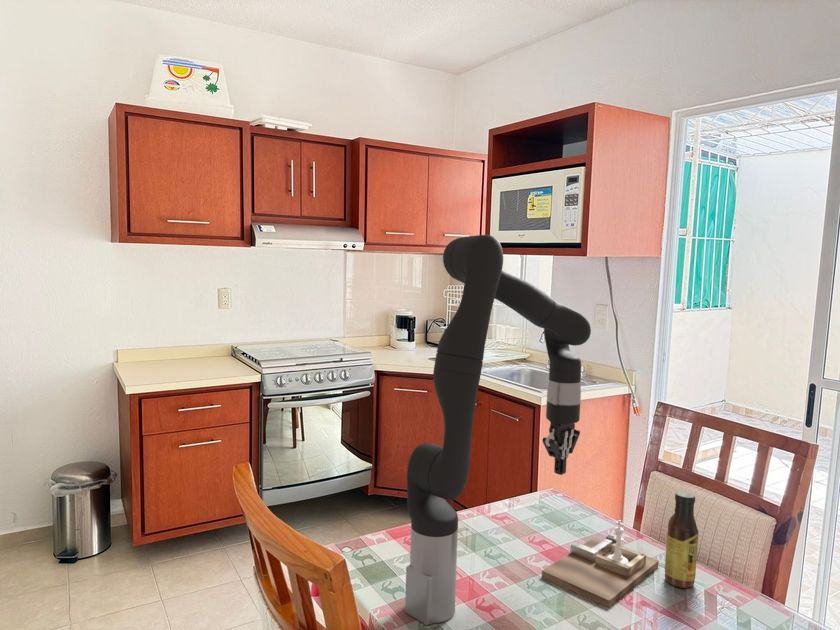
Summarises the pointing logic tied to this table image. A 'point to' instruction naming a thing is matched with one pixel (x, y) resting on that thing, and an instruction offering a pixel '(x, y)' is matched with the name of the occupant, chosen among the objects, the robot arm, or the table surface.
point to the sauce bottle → (682, 543)
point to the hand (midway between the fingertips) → (559, 473)
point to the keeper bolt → (591, 549)
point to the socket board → (601, 573)
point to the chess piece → (618, 545)
